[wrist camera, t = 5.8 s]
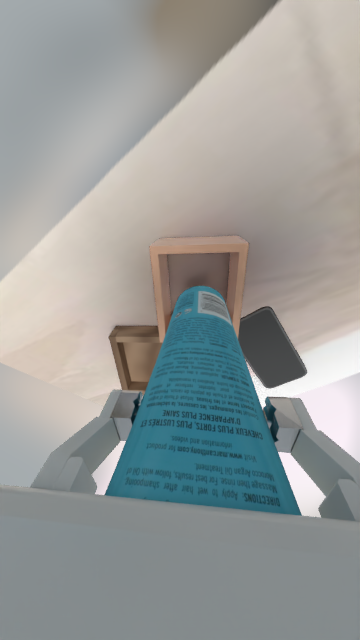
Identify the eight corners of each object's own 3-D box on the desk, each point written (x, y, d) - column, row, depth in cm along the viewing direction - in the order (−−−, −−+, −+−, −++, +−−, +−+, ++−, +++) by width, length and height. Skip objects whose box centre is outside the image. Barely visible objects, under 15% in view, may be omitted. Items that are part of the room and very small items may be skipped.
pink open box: (238, 235, 24) (248, 243, 19) (230, 319, 30) (237, 343, 25) (159, 238, 25) (149, 246, 20) (166, 319, 31) (159, 342, 26)
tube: (166, 329, 22) (46, 752, 5) (161, 286, 19) (-105, 815, 3) (238, 328, 21) (391, 840, 4) (242, 283, 18) (644, 1057, 2)
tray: (191, 326, 31) (190, 337, 29) (192, 383, 37) (192, 396, 34) (116, 326, 32) (108, 336, 30) (128, 381, 38) (123, 393, 35)
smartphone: (270, 304, 28) (310, 374, 33) (268, 301, 29) (307, 370, 34) (223, 329, 31) (266, 391, 36) (222, 326, 31) (265, 386, 36)
